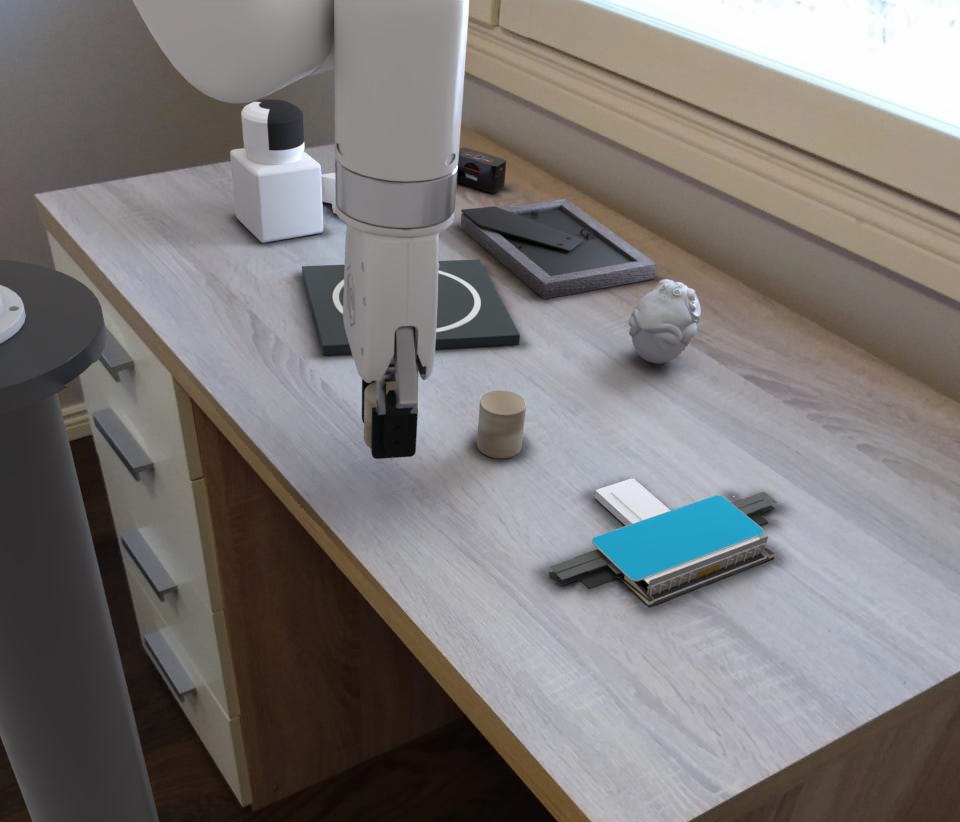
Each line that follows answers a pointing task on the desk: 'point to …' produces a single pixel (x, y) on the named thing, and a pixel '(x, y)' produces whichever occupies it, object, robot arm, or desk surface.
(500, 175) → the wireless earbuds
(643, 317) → the frog figurine
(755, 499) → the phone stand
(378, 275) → the robot arm
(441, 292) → the slate board
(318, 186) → the security camera
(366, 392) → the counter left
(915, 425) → the desk surface
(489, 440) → the beige cylinder
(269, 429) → the desk surface
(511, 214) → the picture frame
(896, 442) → the desk surface
